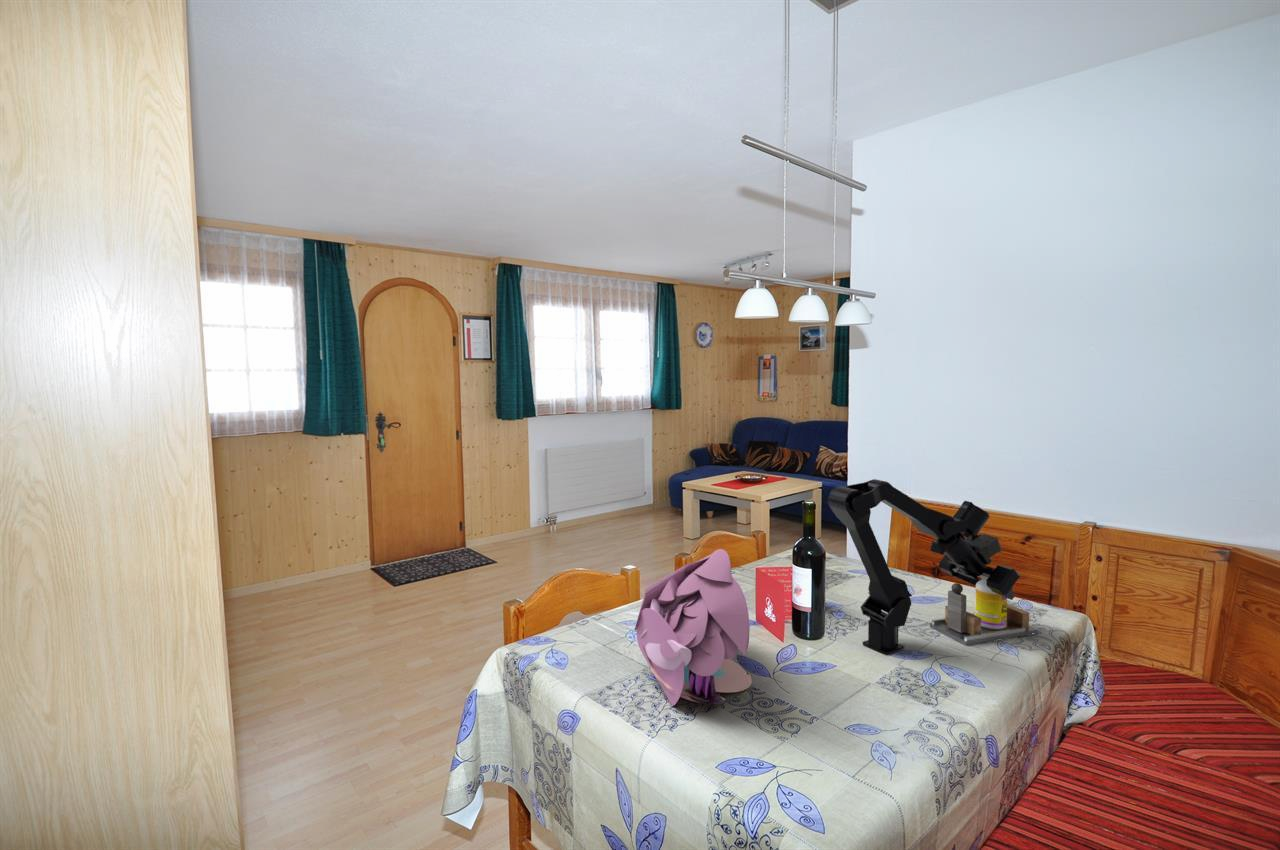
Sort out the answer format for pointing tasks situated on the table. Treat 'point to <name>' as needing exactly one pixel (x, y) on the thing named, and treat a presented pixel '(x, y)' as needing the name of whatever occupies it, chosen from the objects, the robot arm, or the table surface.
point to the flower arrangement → (696, 631)
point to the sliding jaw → (960, 613)
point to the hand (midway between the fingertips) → (996, 591)
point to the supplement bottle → (990, 606)
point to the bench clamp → (1014, 628)
